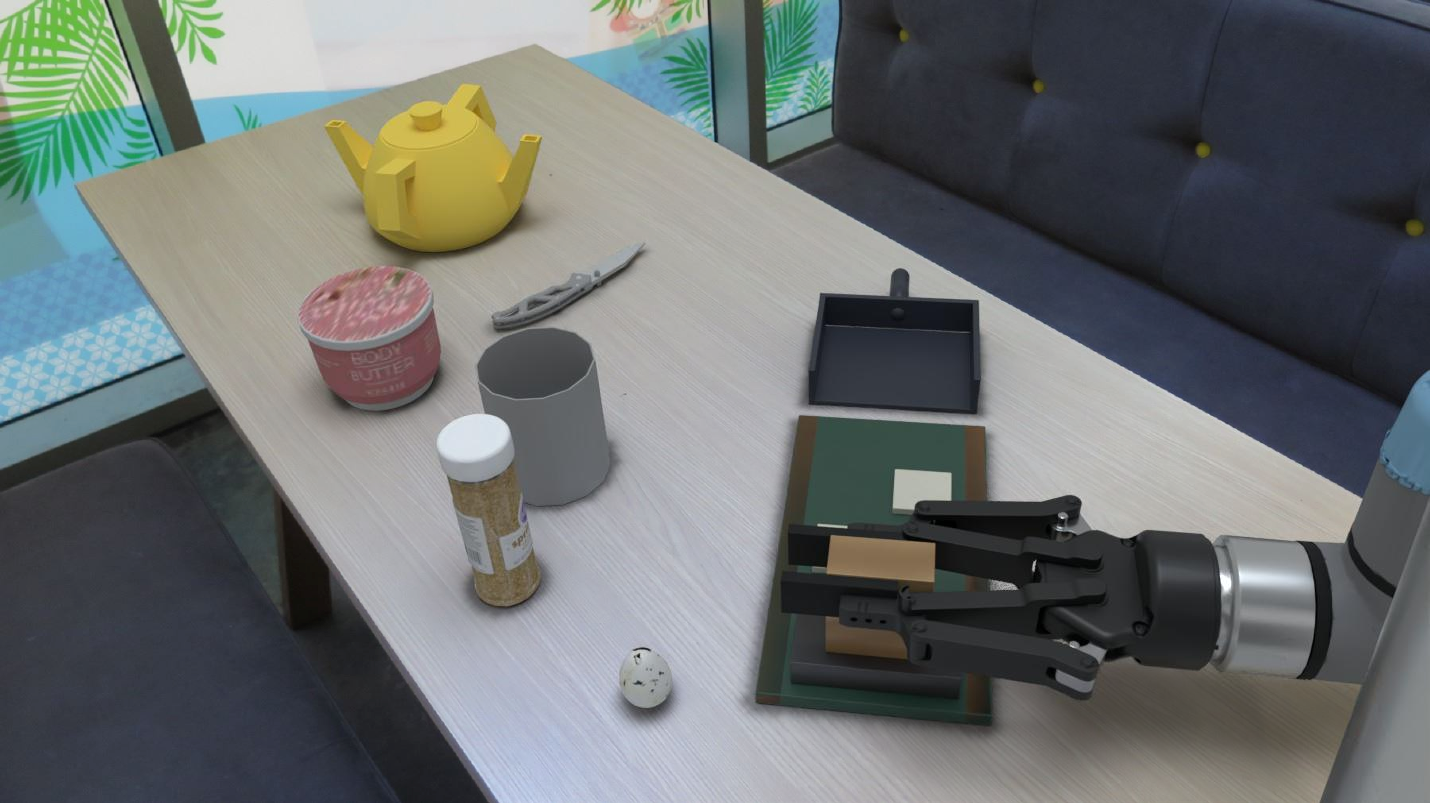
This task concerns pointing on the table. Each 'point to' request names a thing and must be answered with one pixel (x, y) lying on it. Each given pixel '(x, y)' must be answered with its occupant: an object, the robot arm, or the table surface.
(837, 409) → the table surface
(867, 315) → the dustpan
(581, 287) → the knife
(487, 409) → the cup
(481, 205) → the teapot
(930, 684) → the eraser
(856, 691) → the chalkboard
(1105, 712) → the table surface
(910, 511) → the smudge
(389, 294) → the container
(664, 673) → the egg
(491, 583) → the sprinkles bottle
